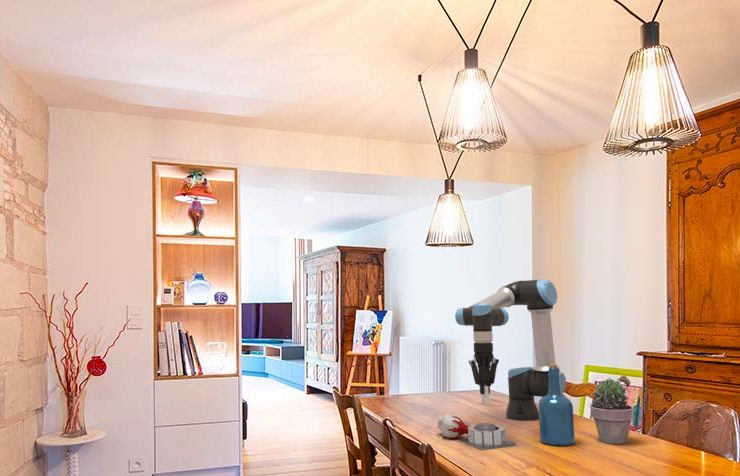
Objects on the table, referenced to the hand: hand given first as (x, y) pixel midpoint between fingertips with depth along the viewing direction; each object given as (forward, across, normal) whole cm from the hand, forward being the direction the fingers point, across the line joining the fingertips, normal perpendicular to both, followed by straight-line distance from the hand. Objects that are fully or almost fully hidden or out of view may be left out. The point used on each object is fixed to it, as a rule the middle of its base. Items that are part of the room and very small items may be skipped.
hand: (485, 402), depth 224 cm
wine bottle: (+16, -25, +11) cm, 32 cm away
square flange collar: (+16, 0, 0) cm, 16 cm away
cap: (+15, 0, 0) cm, 15 cm away
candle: (+16, +7, -14) cm, 22 cm away
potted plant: (+16, -44, +19) cm, 51 cm away
